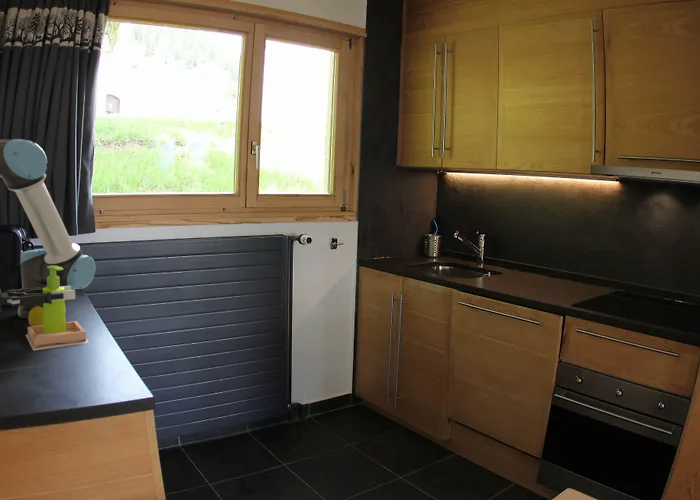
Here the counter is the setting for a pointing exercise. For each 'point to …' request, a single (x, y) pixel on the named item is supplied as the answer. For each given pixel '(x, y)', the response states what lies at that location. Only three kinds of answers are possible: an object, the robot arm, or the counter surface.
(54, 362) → the counter surface
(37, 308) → the lemon
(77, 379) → the counter surface
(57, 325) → the soap dispenser
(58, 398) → the counter surface
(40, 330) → the dish
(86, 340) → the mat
